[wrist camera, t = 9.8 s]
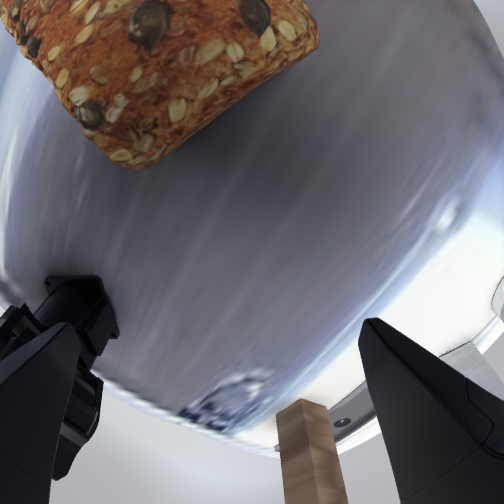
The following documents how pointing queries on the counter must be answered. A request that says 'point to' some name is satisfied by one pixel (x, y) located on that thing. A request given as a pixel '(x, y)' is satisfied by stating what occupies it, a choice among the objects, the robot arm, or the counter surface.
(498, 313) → the spray bottle
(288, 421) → the post
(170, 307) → the counter surface
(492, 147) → the counter surface
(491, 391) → the skincare box
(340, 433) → the flange strip
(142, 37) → the bread
